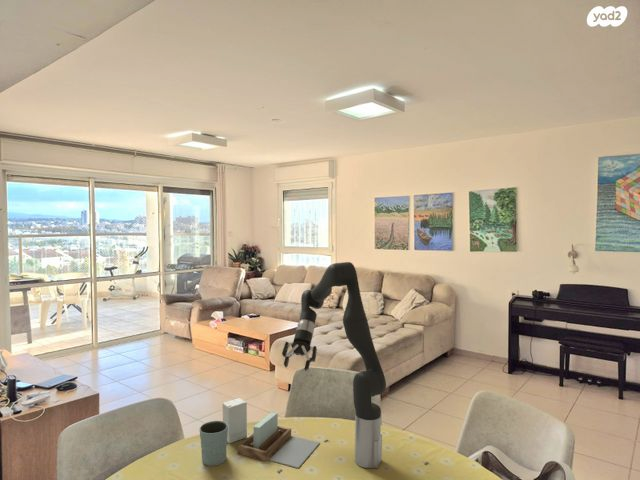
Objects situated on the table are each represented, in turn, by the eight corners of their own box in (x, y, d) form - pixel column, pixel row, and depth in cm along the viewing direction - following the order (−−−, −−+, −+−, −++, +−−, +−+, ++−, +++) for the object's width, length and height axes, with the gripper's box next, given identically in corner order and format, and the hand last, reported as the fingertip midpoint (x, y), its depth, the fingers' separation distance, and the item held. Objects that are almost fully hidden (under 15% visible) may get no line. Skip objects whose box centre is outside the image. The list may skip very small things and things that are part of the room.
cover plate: (277, 437, 167) (277, 412, 167) (259, 454, 155) (259, 427, 154) (272, 436, 168) (272, 411, 168) (253, 452, 156) (253, 426, 155)
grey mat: (319, 443, 163) (319, 442, 163) (298, 468, 145) (298, 467, 145) (292, 437, 167) (292, 436, 167) (268, 460, 150) (268, 459, 150)
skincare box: (240, 432, 171) (240, 396, 171) (247, 437, 166) (247, 401, 166) (221, 438, 166) (222, 401, 166) (228, 444, 161) (228, 406, 161)
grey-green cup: (220, 468, 145) (220, 434, 144) (193, 465, 147) (194, 431, 147) (232, 453, 155) (232, 421, 154) (207, 450, 157) (207, 419, 156)
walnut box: (291, 436, 168) (291, 428, 168) (265, 460, 150) (265, 452, 150) (265, 430, 173) (265, 423, 173) (238, 453, 155) (238, 445, 155)
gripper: (287, 326, 178) (277, 362, 169) (319, 331, 175) (310, 368, 166) (290, 333, 184) (281, 368, 175) (321, 338, 181) (313, 374, 172)
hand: (295, 368), depth 170 cm, fingers open, 8 cm apart
